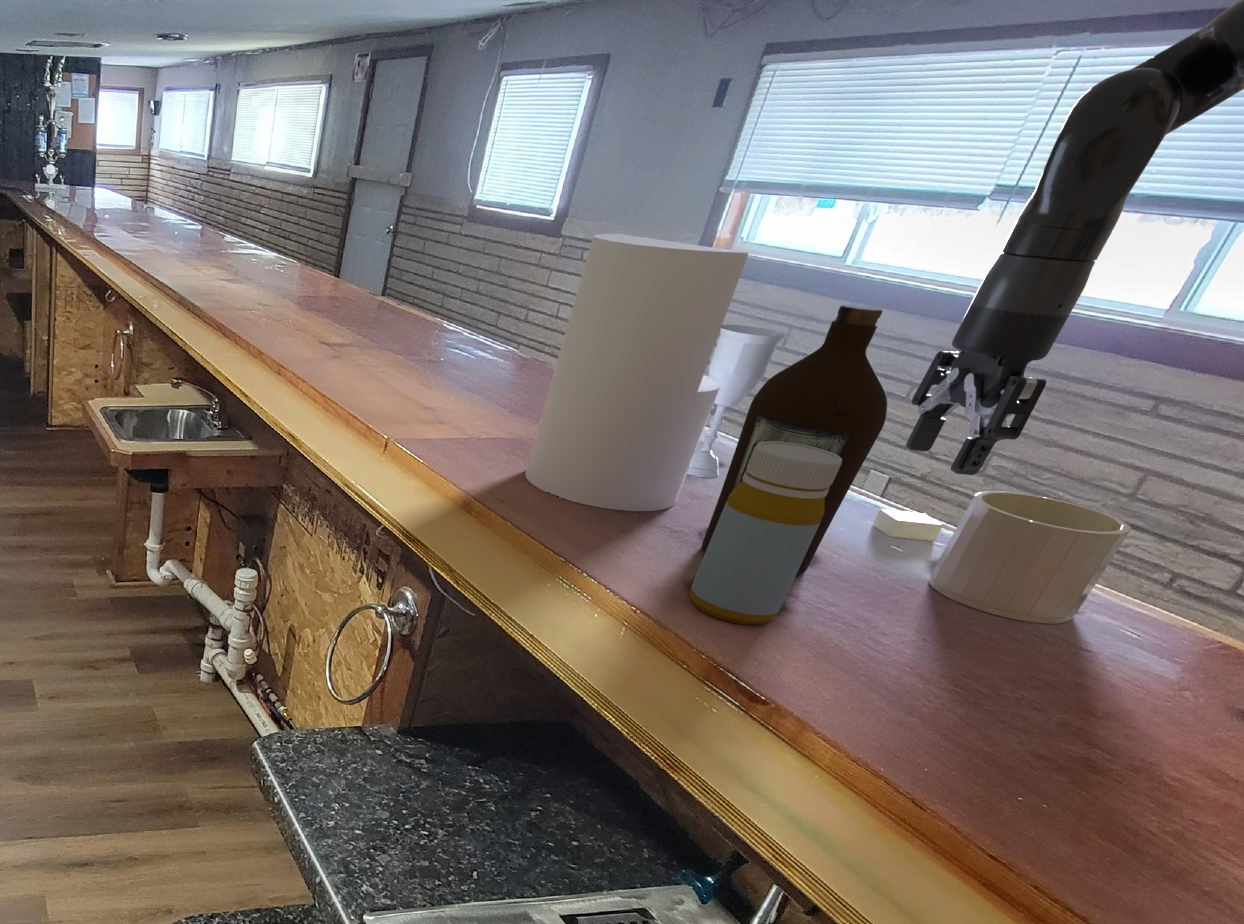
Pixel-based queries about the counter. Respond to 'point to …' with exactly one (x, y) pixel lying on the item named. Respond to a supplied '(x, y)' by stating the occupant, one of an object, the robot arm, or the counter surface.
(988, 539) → the cream round pot
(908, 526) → the cream block
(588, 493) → the cylinder
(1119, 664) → the counter surface
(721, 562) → the bottle
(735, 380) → the chalice
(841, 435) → the olive oil
